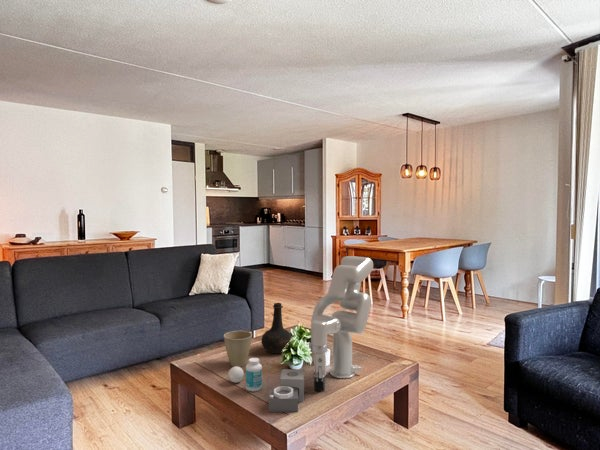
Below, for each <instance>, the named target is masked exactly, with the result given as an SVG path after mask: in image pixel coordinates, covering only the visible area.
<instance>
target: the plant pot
mask: <svg viewBox="0 0 600 450" xmlns="http://www.w3.org/2000/svg"><path fill="white" fill-rule="evenodd" d="M223 338H224V346H225V351H226V354H227V355H226V356H227V358H228V360H229V363H230V366H231V367H235V366H238V367H240V368H242V367H243V366H245V365H246V363H247V360H248V356H249V354H250V349H251V345H252V339H253V333H252V332H250V331H246V330H233V331H228V332H225V333H224V334H223Z"/></svg>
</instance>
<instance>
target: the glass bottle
mask: <svg viewBox="0 0 600 450" xmlns="http://www.w3.org/2000/svg"><path fill="white" fill-rule="evenodd" d="M283 307H284V306H283V305H282V303H281V302H275V303H273V306H272V308H273V317H272V323H271V327H270V329H268V330H266V331H265V332H264V333H263V334H262V336H261V340H260V341H261V345H262V347H263V349H264V350H265V351H267V352H268V353H272V354H282V353H281V351H282V349H283V348H284V347H285V345H286V344H287V343H288V342H289V340H290V338H291V335H292V333H291V332H290V331H288V330H287V329H285V328H284V324H283V315H282V313H283V312H282V308H283Z"/></svg>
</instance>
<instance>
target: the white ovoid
mask: <svg viewBox="0 0 600 450" xmlns="http://www.w3.org/2000/svg"><path fill="white" fill-rule="evenodd" d="M244 374H245V372H244V370H243V368H242V367H238V366H235V367H233V366H231V368H230V369H229V370H228V374H227V376H228V379H229V380H230V382H232V383H239V382H241V381H242V380H243V378H244Z"/></svg>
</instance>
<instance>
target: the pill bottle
mask: <svg viewBox="0 0 600 450" xmlns="http://www.w3.org/2000/svg"><path fill="white" fill-rule="evenodd" d="M262 388H263V366H262V364H261V363H260V358H258V357H251V358H249V359H248V363H247V364H246V366H245V389H246V391H249V392H258V391H260V390H261V389H262Z"/></svg>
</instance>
